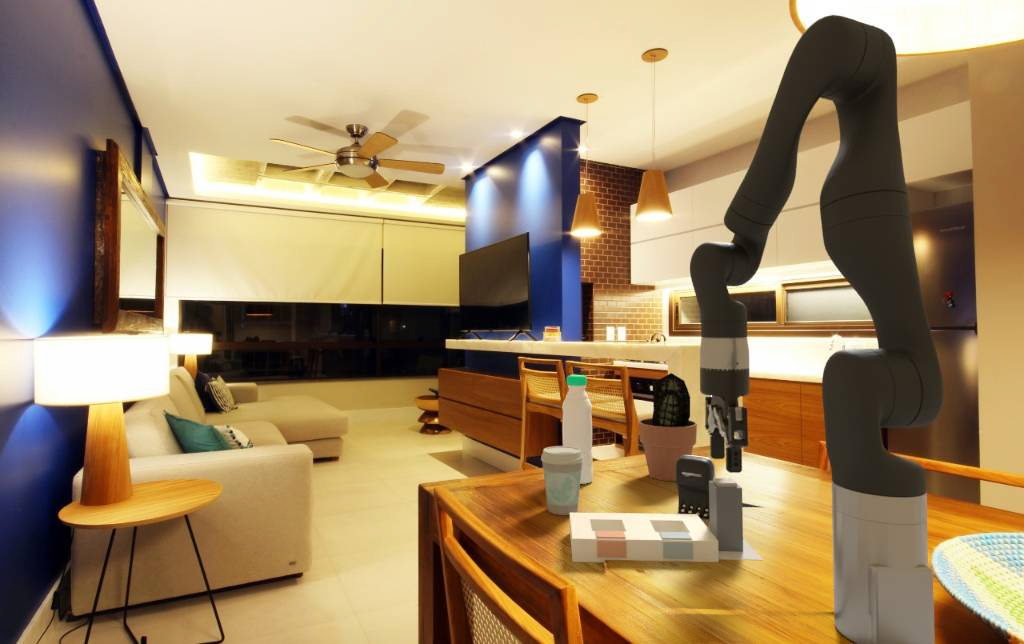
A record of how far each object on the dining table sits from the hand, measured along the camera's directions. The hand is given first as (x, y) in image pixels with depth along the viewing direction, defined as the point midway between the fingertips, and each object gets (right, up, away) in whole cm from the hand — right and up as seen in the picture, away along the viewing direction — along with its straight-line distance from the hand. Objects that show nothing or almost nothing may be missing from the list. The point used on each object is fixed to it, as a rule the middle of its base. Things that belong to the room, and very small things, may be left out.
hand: (725, 464), depth 88 cm
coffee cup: (-25, -14, +19) cm, 35 cm away
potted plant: (+3, -15, +44) cm, 46 cm away
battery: (0, -14, +15) cm, 20 cm away
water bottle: (-19, -15, +40) cm, 47 cm away
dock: (-14, -14, +1) cm, 20 cm away
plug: (0, -13, 0) cm, 13 cm away
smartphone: (+11, -14, +18) cm, 26 cm away
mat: (0, -14, 0) cm, 14 cm away
